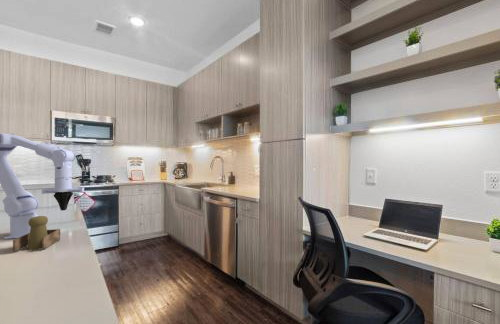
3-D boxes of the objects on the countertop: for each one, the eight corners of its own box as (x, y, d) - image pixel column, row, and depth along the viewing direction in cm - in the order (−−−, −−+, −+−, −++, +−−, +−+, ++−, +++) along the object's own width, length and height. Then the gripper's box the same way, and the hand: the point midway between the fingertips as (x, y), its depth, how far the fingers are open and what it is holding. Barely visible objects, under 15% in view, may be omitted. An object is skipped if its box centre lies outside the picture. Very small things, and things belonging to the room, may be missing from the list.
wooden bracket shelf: (32, 242, 89) (32, 230, 89) (60, 240, 92) (60, 229, 92) (12, 253, 79) (12, 240, 79) (44, 250, 81) (44, 237, 81)
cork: (36, 250, 81) (35, 218, 81) (22, 249, 82) (22, 218, 82) (53, 244, 87) (53, 215, 87) (40, 243, 88) (40, 214, 88)
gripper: (87, 176, 105) (87, 207, 105) (48, 177, 101) (48, 209, 101) (80, 178, 98) (80, 210, 98) (38, 178, 94) (38, 212, 94)
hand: (63, 209), depth 99 cm, fingers closed
